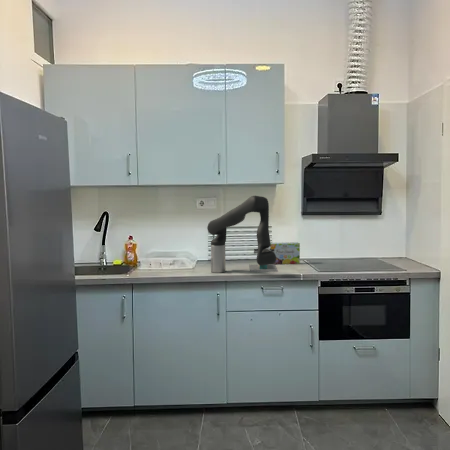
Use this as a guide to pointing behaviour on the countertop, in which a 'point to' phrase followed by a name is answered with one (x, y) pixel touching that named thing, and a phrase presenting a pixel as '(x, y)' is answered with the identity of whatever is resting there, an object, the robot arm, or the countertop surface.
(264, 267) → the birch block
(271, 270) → the charcoal mat
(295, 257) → the snack box
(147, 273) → the countertop surface
